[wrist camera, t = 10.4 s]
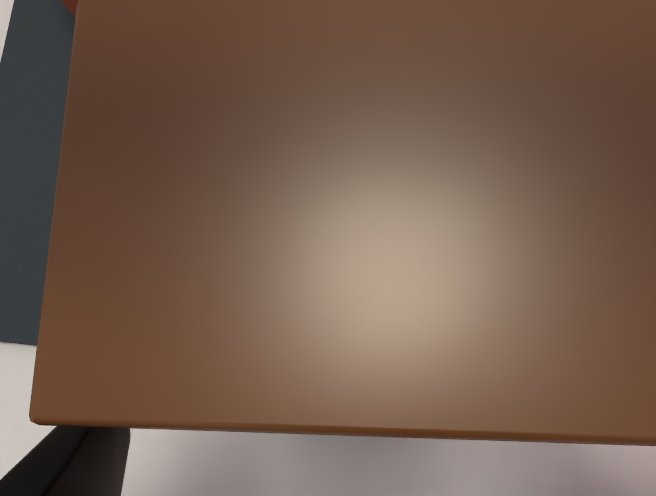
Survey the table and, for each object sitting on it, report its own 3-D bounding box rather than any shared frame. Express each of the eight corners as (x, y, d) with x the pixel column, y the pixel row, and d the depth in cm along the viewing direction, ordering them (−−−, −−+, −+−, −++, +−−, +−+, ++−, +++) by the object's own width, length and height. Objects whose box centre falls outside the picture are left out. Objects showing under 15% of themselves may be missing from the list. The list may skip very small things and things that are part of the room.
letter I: (457, 369, 17) (732, 450, 4) (285, 365, 17) (23, 425, 4) (453, 245, 17) (676, -34, 5) (289, 245, 18) (73, -8, 5)
